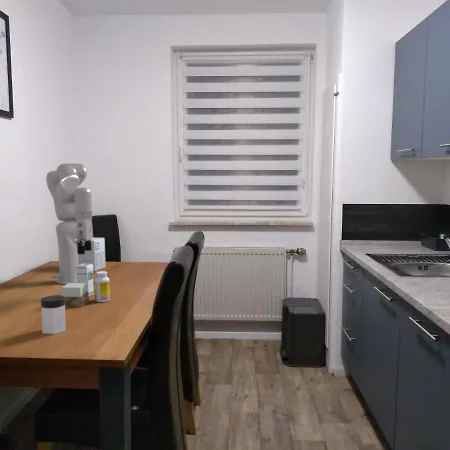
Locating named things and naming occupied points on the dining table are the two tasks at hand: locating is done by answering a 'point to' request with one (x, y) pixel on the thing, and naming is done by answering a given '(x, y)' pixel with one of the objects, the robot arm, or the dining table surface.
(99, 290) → the supplement bottle
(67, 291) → the top block
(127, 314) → the dining table surface
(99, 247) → the supplement box
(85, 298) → the bottom block
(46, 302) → the jar
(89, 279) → the syrup box
